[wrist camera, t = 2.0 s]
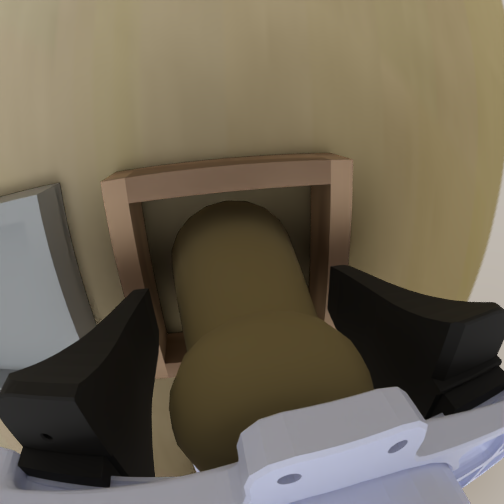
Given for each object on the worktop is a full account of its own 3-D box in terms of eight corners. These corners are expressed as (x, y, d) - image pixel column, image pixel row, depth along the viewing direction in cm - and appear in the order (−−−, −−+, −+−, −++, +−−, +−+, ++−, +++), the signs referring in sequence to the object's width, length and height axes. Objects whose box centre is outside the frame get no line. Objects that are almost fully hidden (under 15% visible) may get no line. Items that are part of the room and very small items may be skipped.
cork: (151, 283, 16) (117, 487, 6) (209, 177, 14) (239, 318, 4) (252, 326, 18) (306, 510, 8) (314, 237, 16) (451, 393, 6)
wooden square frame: (323, 326, 19) (338, 352, 16) (154, 348, 17) (150, 379, 15) (329, 152, 15) (353, 159, 12) (115, 172, 13) (100, 182, 11)
